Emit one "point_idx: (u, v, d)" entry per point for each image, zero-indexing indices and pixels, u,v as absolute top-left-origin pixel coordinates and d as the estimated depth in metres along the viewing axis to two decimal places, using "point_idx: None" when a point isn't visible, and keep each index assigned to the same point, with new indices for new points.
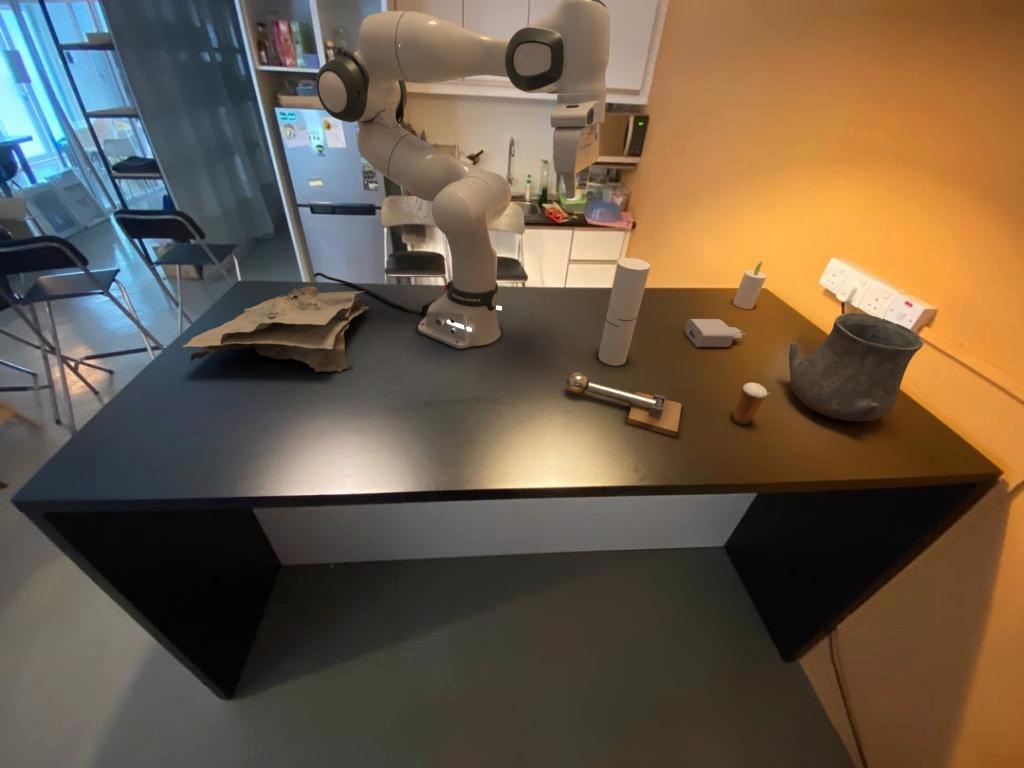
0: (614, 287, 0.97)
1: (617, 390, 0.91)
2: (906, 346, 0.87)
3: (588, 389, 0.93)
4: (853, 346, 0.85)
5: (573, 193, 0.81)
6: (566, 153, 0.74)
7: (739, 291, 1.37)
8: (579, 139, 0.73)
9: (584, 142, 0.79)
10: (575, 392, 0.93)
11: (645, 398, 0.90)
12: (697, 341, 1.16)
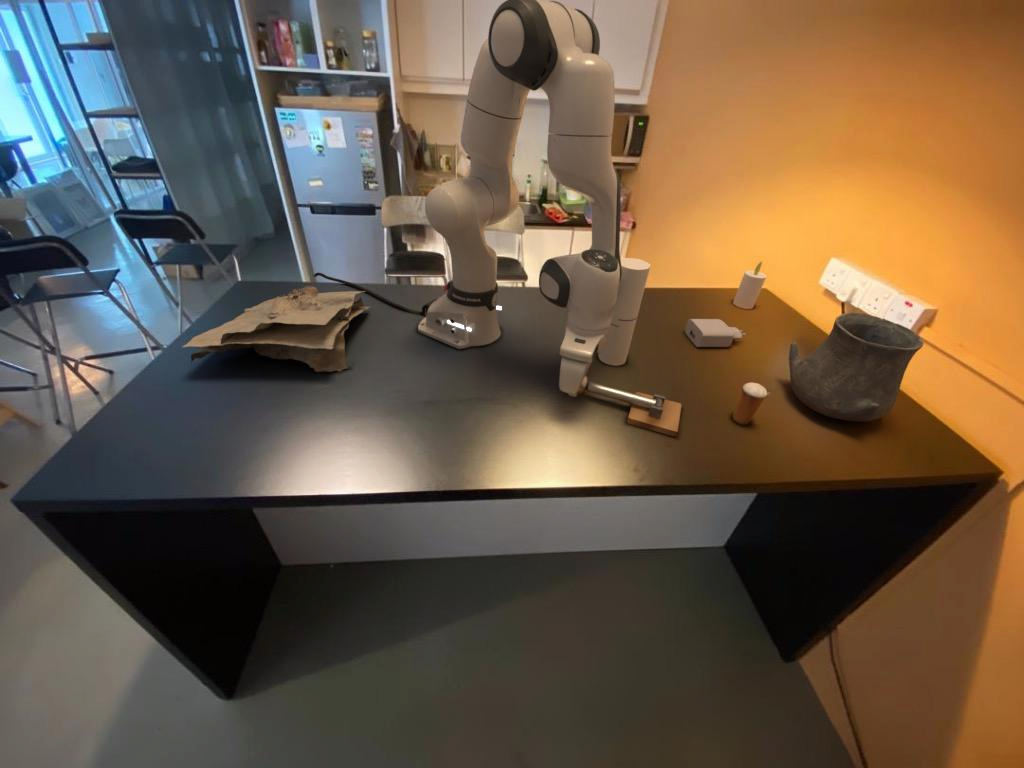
0: None
1: (617, 390, 0.91)
2: (906, 346, 0.87)
3: (588, 389, 0.93)
4: (853, 346, 0.85)
5: None
6: (571, 380, 0.83)
7: (739, 291, 1.37)
8: (583, 372, 0.81)
9: None
10: None
11: (645, 398, 0.90)
12: (697, 341, 1.16)
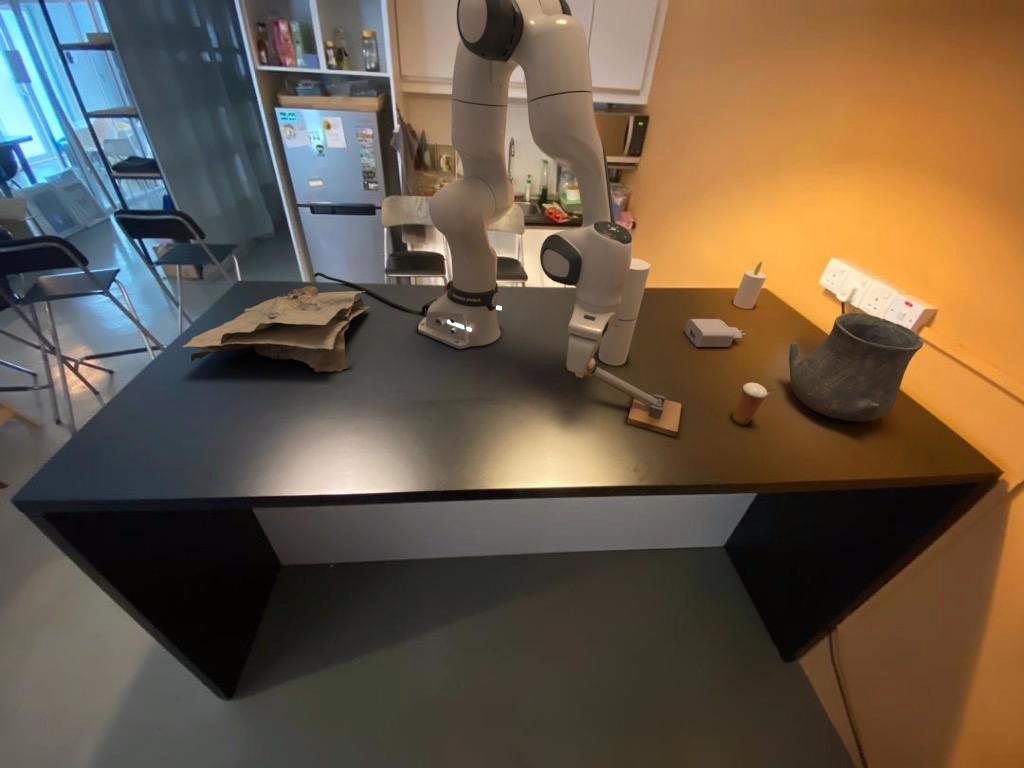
0: None
1: (623, 382, 0.90)
2: (906, 346, 0.87)
3: (594, 374, 0.90)
4: (853, 346, 0.85)
5: (582, 374, 0.88)
6: (579, 359, 0.79)
7: (739, 291, 1.37)
8: (592, 350, 0.78)
9: None
10: None
11: (648, 395, 0.89)
12: (697, 341, 1.16)
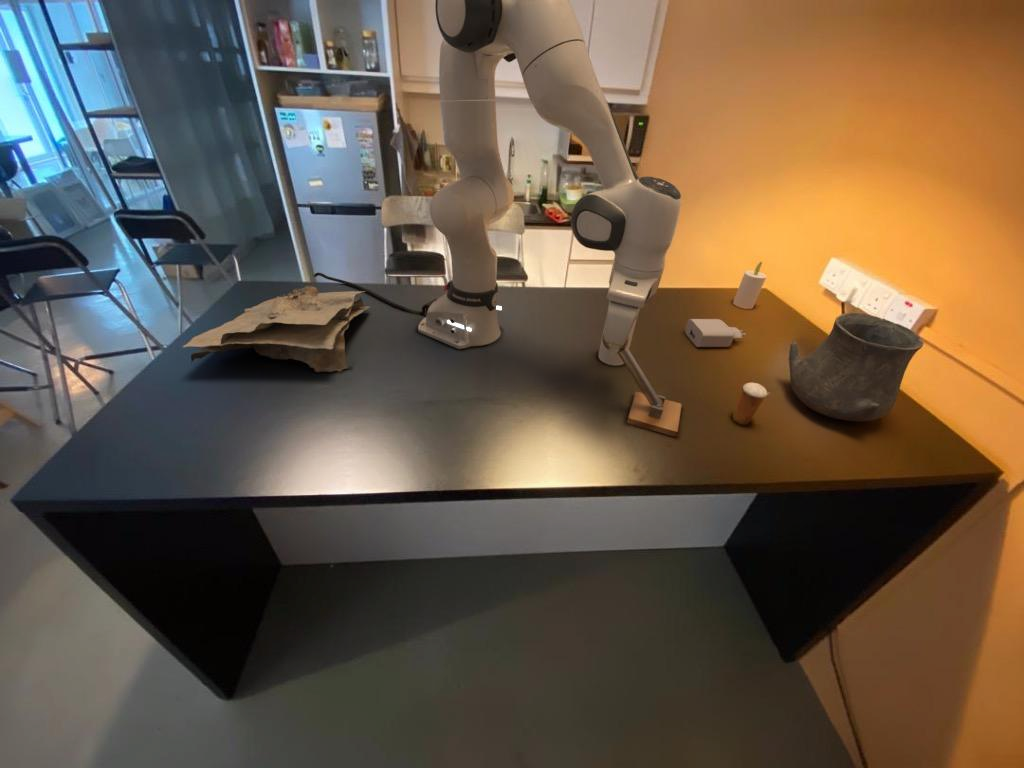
0: None
1: (641, 371, 0.87)
2: (906, 346, 0.87)
3: (621, 352, 0.85)
4: (853, 346, 0.85)
5: (618, 348, 0.82)
6: (619, 328, 0.73)
7: (739, 291, 1.37)
8: (634, 319, 0.72)
9: None
10: None
11: (655, 393, 0.88)
12: (697, 341, 1.16)
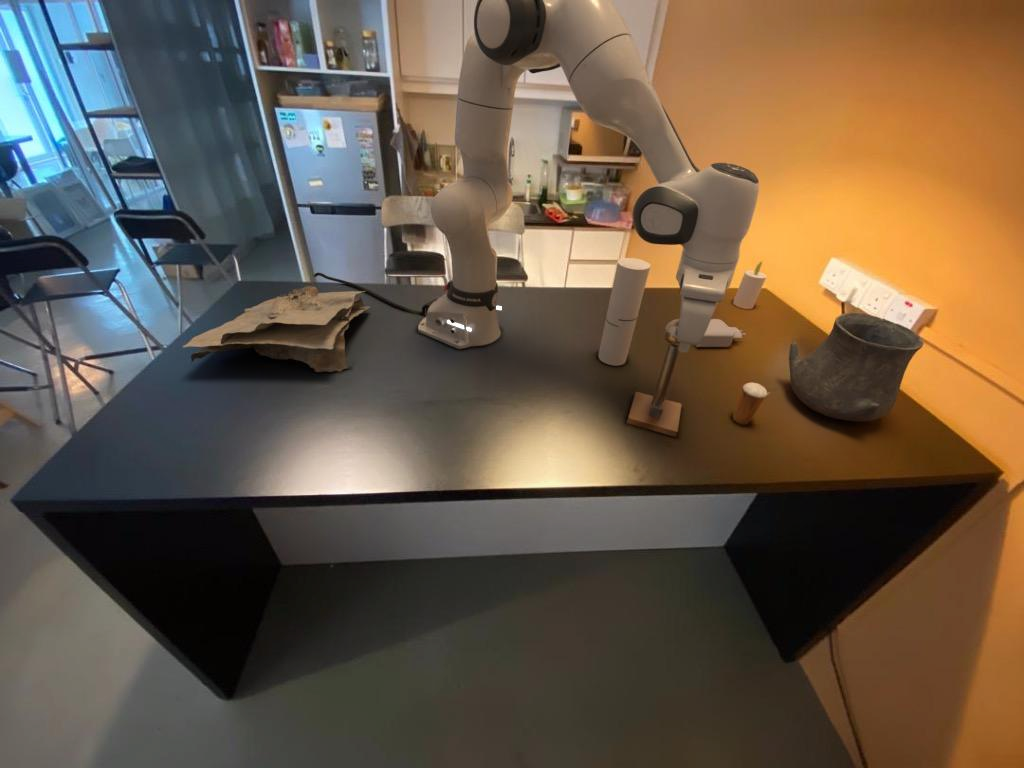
0: (614, 287, 0.97)
1: (672, 372, 0.84)
2: (906, 346, 0.87)
3: (673, 348, 0.80)
4: (853, 346, 0.85)
5: (688, 348, 0.76)
6: (695, 326, 0.68)
7: (739, 291, 1.37)
8: (712, 314, 0.67)
9: None
10: (672, 338, 0.78)
11: (665, 396, 0.88)
12: None
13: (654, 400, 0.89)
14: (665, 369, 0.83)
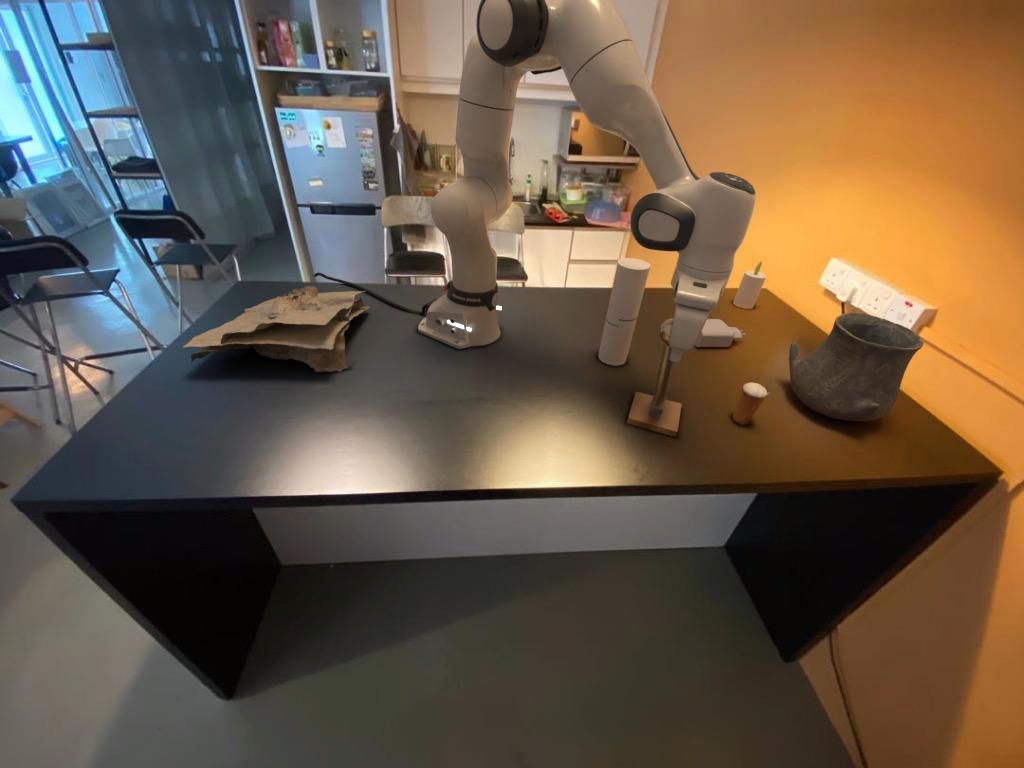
0: (614, 287, 0.97)
1: None
2: (906, 346, 0.87)
3: (669, 347, 0.81)
4: (853, 346, 0.85)
5: (679, 358, 0.76)
6: (687, 333, 0.69)
7: (739, 291, 1.37)
8: None
9: None
10: (667, 338, 0.78)
11: None
12: (697, 341, 1.16)
13: (654, 400, 0.89)
14: (662, 369, 0.84)
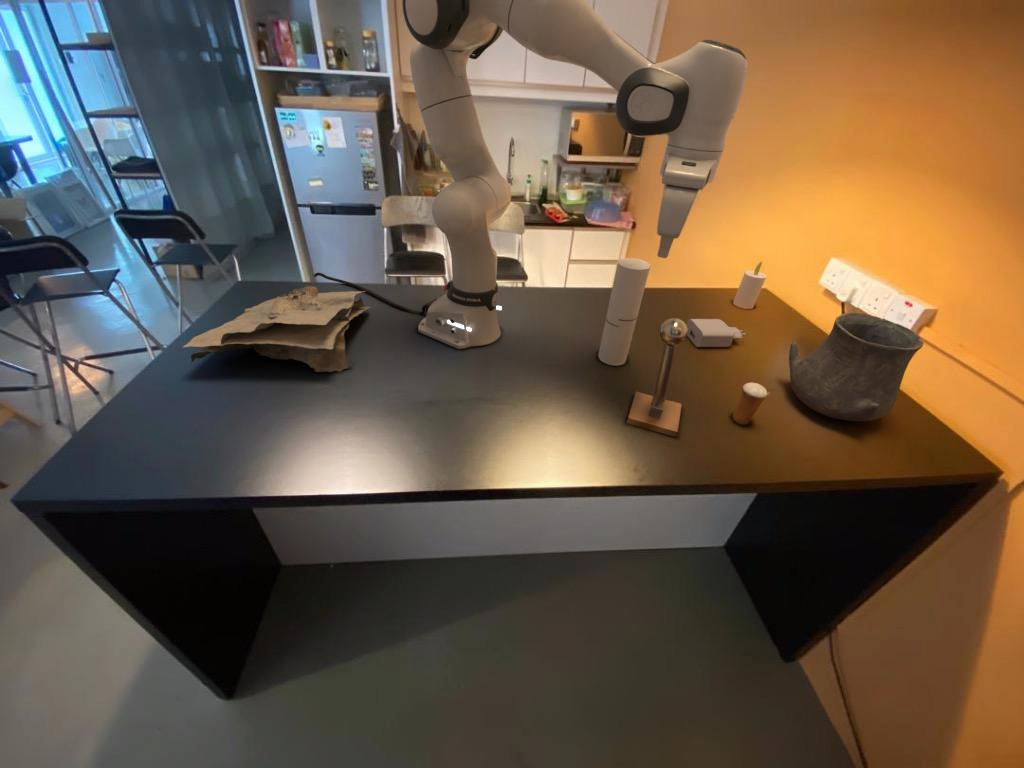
0: (614, 287, 0.97)
1: None
2: (906, 346, 0.87)
3: (669, 347, 0.81)
4: (853, 346, 0.85)
5: (667, 253, 0.74)
6: (675, 215, 0.66)
7: (739, 291, 1.37)
8: (693, 202, 0.65)
9: None
10: (667, 338, 0.78)
11: None
12: (697, 341, 1.16)
13: (654, 400, 0.89)
14: (662, 369, 0.84)
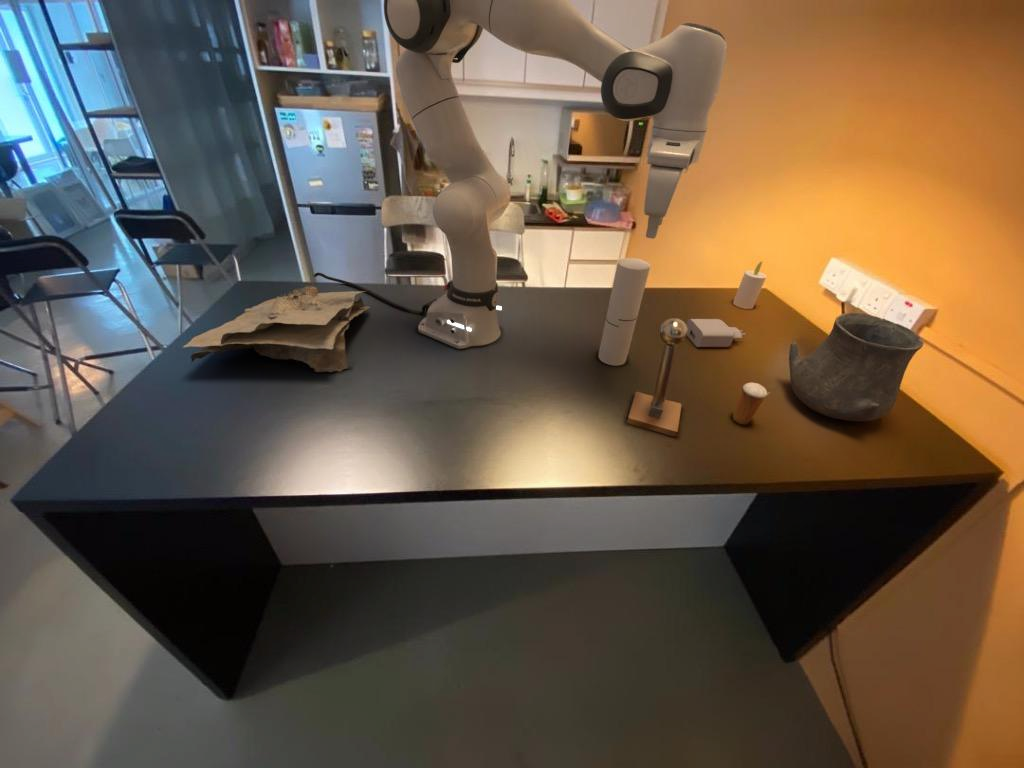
0: (614, 287, 0.97)
1: None
2: (906, 346, 0.87)
3: (669, 347, 0.81)
4: (853, 346, 0.85)
5: (655, 233, 0.76)
6: (661, 194, 0.68)
7: (739, 291, 1.37)
8: (678, 181, 0.67)
9: None
10: (667, 338, 0.78)
11: None
12: (697, 341, 1.16)
13: (654, 400, 0.89)
14: (662, 369, 0.84)
